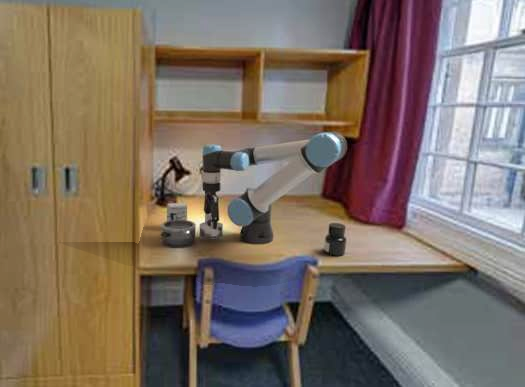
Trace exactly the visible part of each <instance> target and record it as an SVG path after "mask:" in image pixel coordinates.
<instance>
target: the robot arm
mask: <svg viewBox="0 0 525 387" xmlns="http://www.w3.org/2000/svg"><path fill="white" fill-rule="evenodd" d="M347 150H348V143H347V139H346V138H345V137H344V135H342V134H341V133H340V132H337V131H327V132H319V133H317V134H315V135H313V136H312V137H311V138H310V139H305V140H298V141H289V142H283V143H278V144H277V143H276V144H269V145H262V146H257V147H246V148H243V149H238V150H234V151H231V150H223V149H222V146H221V145H219V144H205V145H203V147H202V173H201V175H200V176H201V177H202V192H204V203H203V204H204V205H203V212H204V214H205V215H204V222H207V221H208V220H210V219H212V220H210V222H211V236H218V222H220V212H219V211H220V210H219V209H220V207H219V196H217V193H218V192H220V191H221V180H222V178H221V177H222V173H221V171H222V170H229V171H235V172H243V171H246V170H247V169H248V167H251V166H257V165H267V164H274V163H282V162H283V163H284V162H288V163H287V164H286V165H284V166H283V167H281V168H280V169H279V170H278V171H276V172H275V173H274V174H273V175H271V176H270V177H269V178H268V179H267V180H265V181H264V182H263V183H261V184H260V185H258V186H257V187H255V186H254V187H253V186H251V187H246V189H245V191H244V193H242V194H240V196H238V197H237V198H233V199H232V200H231V201H230V202H229V204H228V206H227V216H228V218H229V220H230V221H231V222H232V223H233V224H234V225H236V226H238V227H241V228H240V231H239V239H240V240H241V241H243V242H245V243H248V244H255V245H258V244H259V245H260V244H268V243H271V242H273V241H274V231H273V227H272V223H271V218H272V204H273V203H274V202H276V201H277V200H278V199H280V198H281V197H282V196H284V195H286V193H288V192H289V191H291V190H292V189H293V188H295V187H296V186H297V185H299V184H300V183H302V182H303V181H304V180H305V179H307V178H308V177H309V176H311V175H312V174H321V173H322V172H323V171H324V170H326V169H327V168H328V167H330V166H332V165H333V164H334V163H336V162H338V161H339V160H341V159H342V158H344V157H345V155H346V153H347Z"/></svg>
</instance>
